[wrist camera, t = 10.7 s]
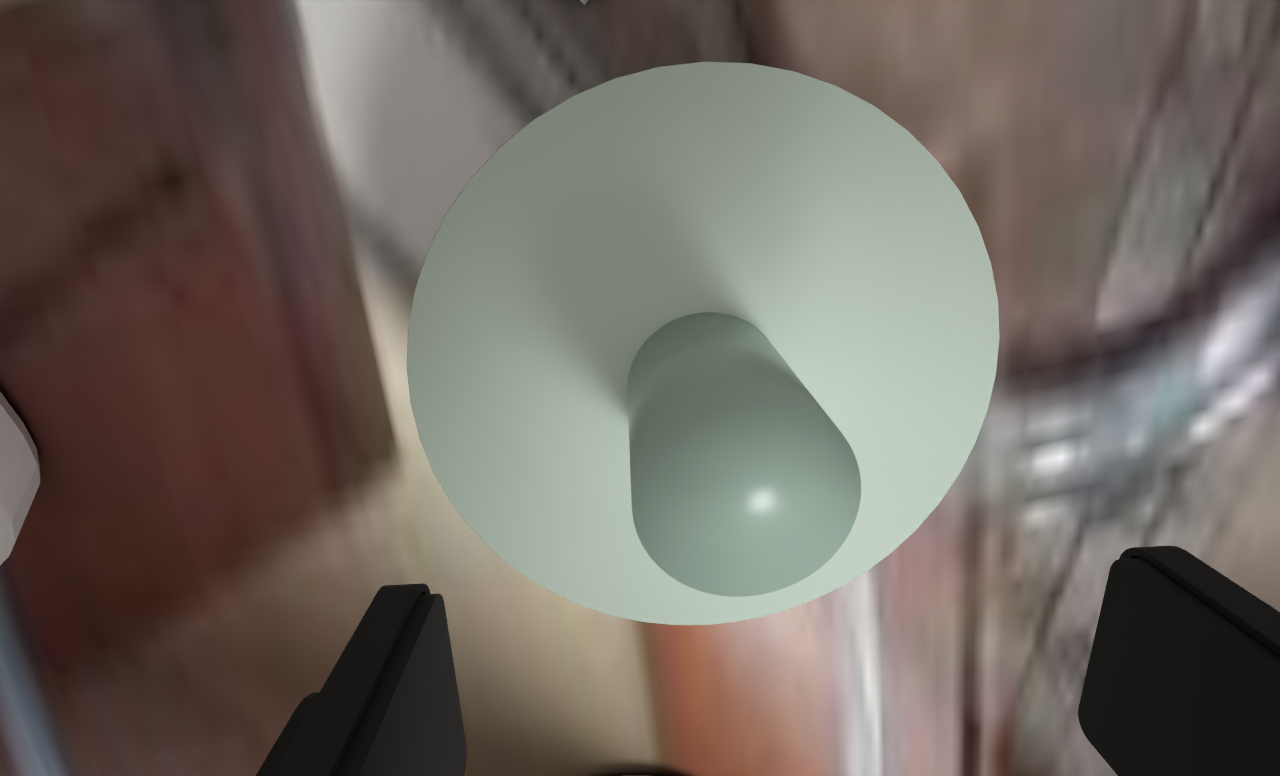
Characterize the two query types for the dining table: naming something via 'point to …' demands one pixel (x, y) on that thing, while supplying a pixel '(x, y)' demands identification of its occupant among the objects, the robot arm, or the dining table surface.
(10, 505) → the soap bottle
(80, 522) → the dining table surface
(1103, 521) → the dining table surface
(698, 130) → the lid
